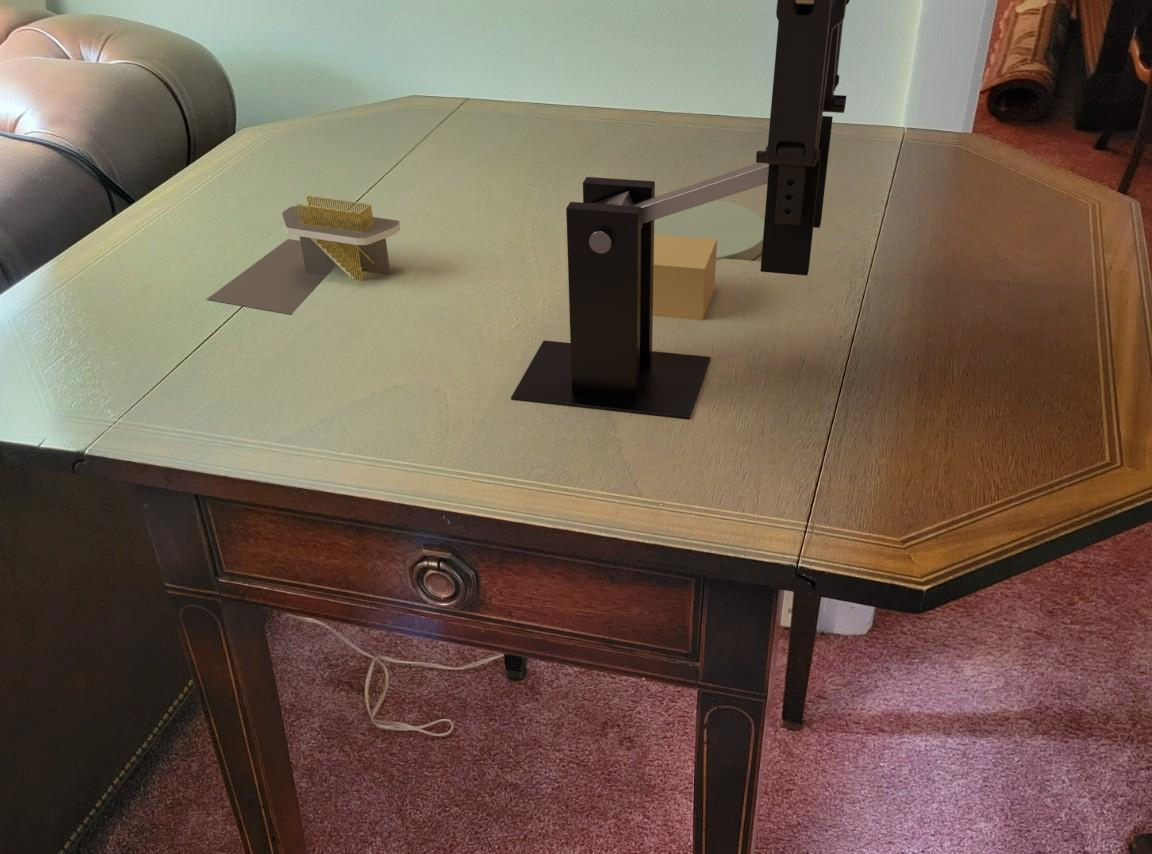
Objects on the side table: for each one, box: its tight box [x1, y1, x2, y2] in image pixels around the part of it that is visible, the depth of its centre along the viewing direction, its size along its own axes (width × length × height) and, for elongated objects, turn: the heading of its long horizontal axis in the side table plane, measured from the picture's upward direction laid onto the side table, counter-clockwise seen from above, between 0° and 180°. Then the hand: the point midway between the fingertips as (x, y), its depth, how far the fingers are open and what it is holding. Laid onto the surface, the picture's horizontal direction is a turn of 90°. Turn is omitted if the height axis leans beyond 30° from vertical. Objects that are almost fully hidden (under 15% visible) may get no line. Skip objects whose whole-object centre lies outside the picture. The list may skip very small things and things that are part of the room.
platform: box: [206, 195, 401, 315], centre depth 95 cm, size 12×18×7 cm, turn 67°
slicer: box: [510, 176, 712, 420], centre depth 78 cm, size 12×8×14 cm, turn 75°
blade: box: [595, 162, 769, 228], centre depth 73 cm, size 14×6×2 cm, turn 75°
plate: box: [654, 199, 765, 262], centre depth 101 cm, size 12×12×1 cm
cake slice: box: [653, 235, 717, 321], centre depth 90 cm, size 5×5×5 cm
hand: (791, 245), depth 73 cm, fingers closed on blade, 6 cm apart
